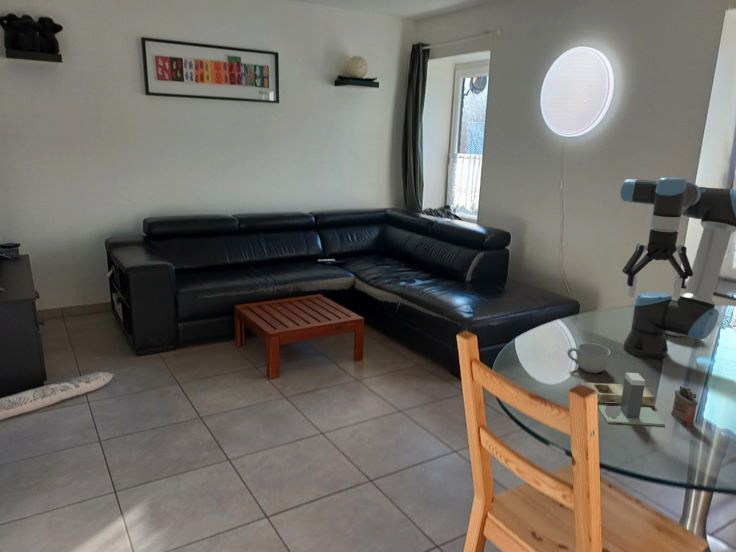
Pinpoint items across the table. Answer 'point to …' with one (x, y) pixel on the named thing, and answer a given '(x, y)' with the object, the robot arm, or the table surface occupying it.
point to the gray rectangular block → (632, 395)
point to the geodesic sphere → (673, 334)
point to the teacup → (591, 357)
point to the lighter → (684, 406)
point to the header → (617, 393)
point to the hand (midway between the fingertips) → (653, 297)
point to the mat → (645, 418)
